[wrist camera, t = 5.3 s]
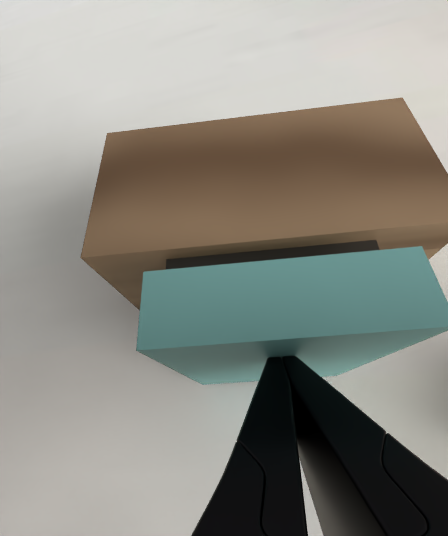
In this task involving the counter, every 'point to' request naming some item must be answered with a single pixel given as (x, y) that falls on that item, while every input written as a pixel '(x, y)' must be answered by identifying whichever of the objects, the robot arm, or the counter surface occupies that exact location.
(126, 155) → the block
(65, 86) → the counter surface
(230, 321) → the teal flanged block
